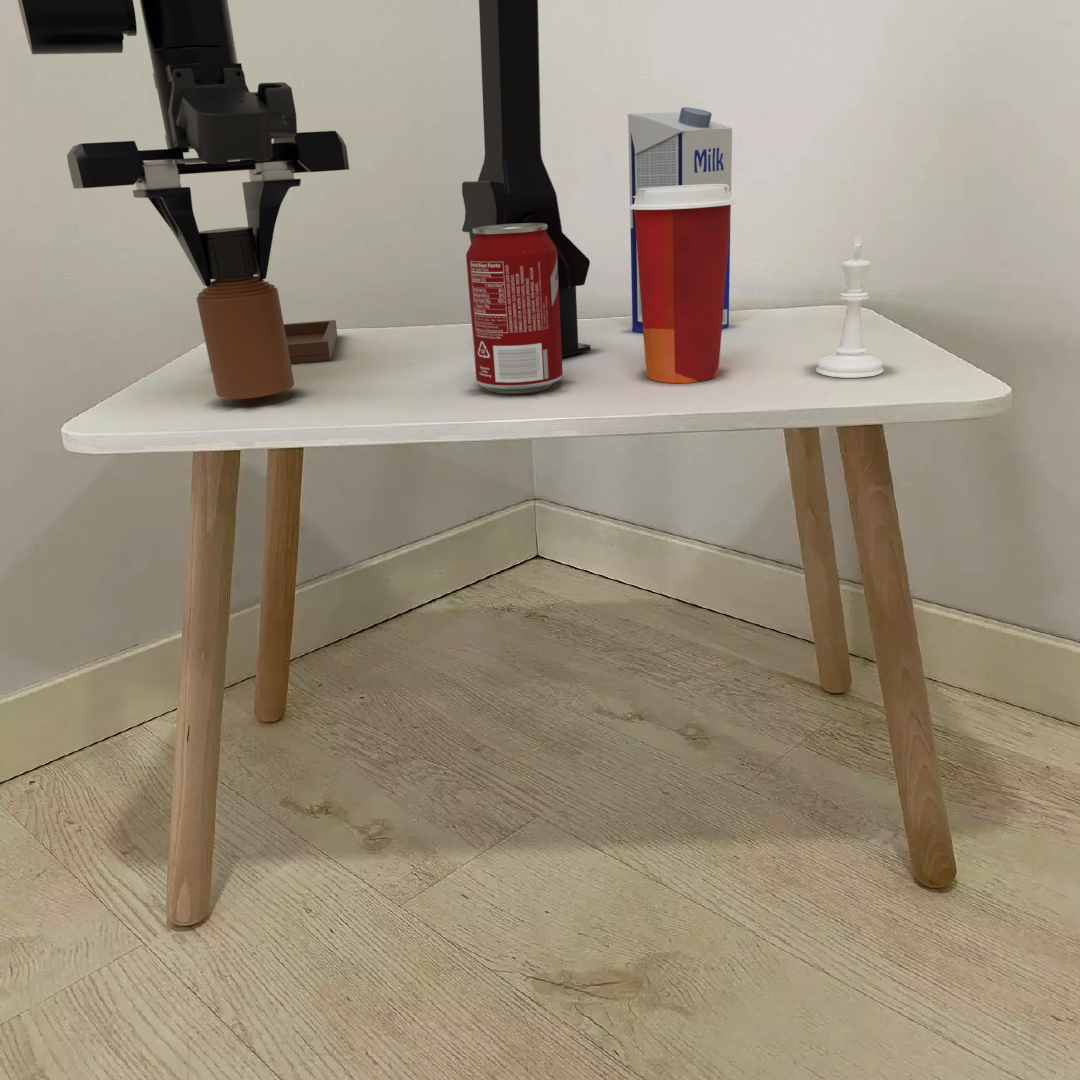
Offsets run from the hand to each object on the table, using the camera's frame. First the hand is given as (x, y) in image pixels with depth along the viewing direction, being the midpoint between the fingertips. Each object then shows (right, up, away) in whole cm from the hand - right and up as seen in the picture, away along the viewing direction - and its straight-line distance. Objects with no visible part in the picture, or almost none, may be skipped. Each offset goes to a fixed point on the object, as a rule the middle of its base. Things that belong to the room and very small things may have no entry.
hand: (234, 282), depth 72 cm
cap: (0, 0, 0) cm, 1 cm away
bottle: (+1, -8, +3) cm, 8 cm away
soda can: (+22, -8, +2) cm, 23 cm away
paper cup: (+34, -7, +3) cm, 35 cm away
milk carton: (+37, +1, +22) cm, 43 cm away
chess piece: (+47, -7, +1) cm, 47 cm away
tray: (-3, -1, +23) cm, 23 cm away
